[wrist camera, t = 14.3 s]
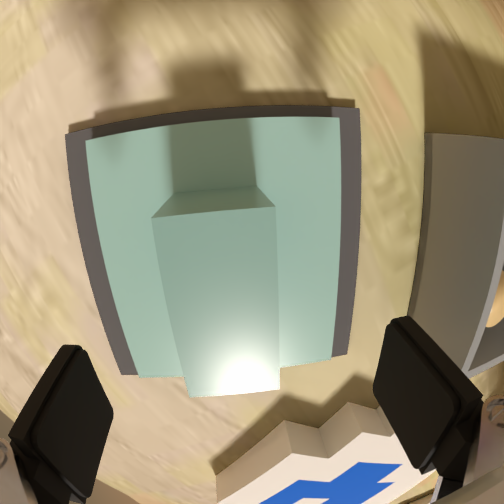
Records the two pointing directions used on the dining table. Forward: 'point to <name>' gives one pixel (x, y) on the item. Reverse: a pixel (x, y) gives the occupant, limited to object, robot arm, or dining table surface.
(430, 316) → the storage box
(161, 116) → the mat
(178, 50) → the dining table surface
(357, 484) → the pixel art tile
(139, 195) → the lid
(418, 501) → the salad plate
